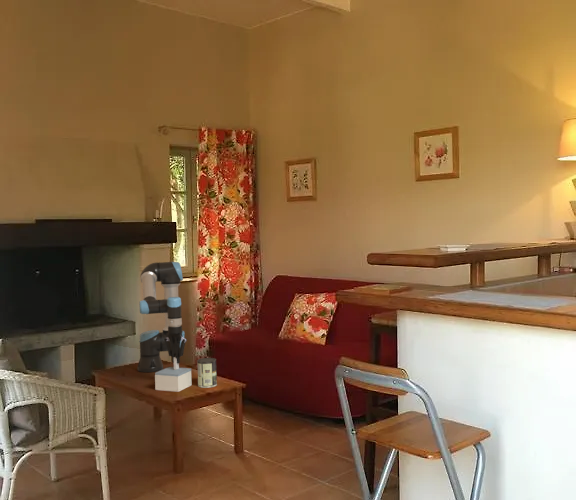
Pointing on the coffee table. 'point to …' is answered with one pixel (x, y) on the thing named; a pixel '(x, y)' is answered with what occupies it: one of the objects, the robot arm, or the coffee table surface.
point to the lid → (173, 371)
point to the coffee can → (207, 372)
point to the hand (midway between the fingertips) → (176, 369)
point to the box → (173, 382)
